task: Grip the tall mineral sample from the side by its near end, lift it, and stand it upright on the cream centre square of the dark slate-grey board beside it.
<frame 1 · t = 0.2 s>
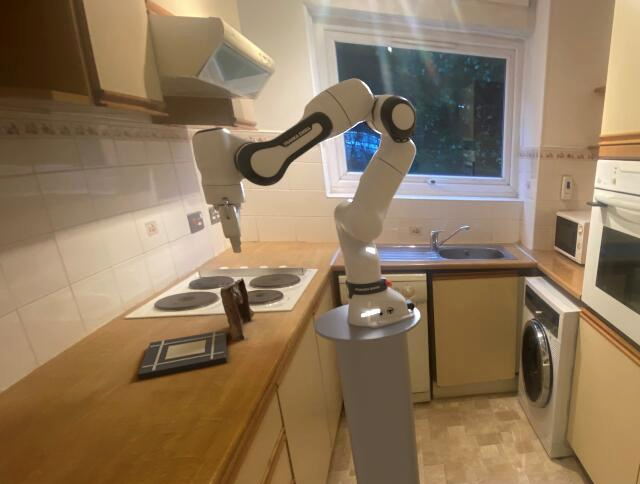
hand: (237, 248, 117), 27 cm above the countertop, tool pointing down, fingers open, 8 cm apart
board: (188, 354, 117), on the countertop
mineral sample: (243, 330, 132), on the countertop
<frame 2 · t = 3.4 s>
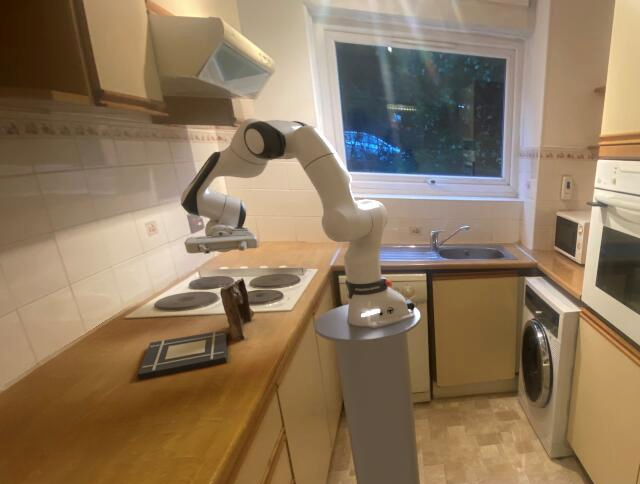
hand: (224, 249, 138), 21 cm above the countertop, tool horizontal, fingers open, 8 cm apart
nothing on the countertop moved.
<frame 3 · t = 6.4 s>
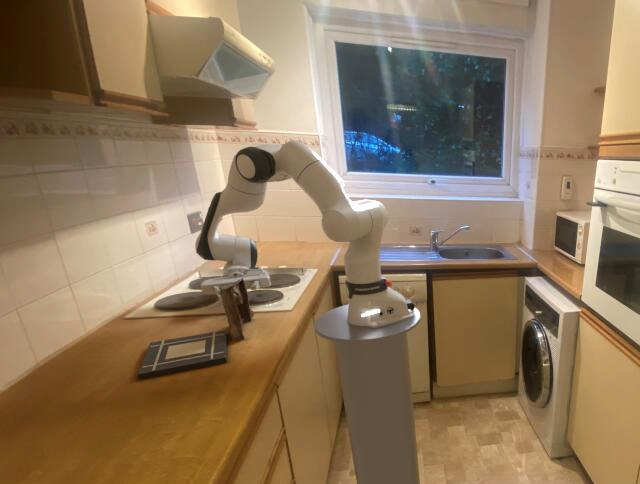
hand: (237, 290, 142), 8 cm above the countertop, tool horizontal, fingers open, 8 cm apart
nothing on the countertop moved.
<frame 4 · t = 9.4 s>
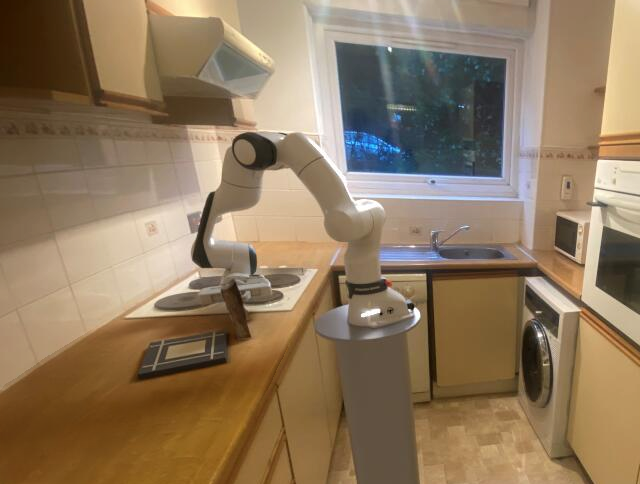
hand: (236, 299, 133), 8 cm above the countertop, tool horizontal, fingers closed on mineral sample, 3 cm apart
mineral sample: (244, 329, 132), on the countertop, touching gripper
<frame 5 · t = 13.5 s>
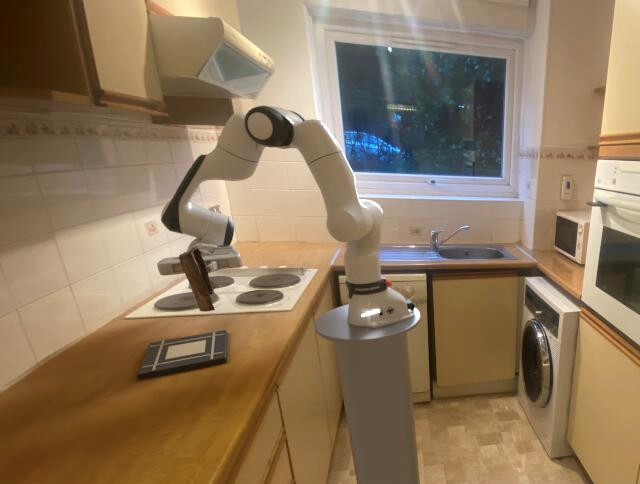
hand: (200, 270, 121), 20 cm above the countertop, tool horizontal, fingers closed on mineral sample, 3 cm apart
mineral sample: (208, 302, 120), point 12 cm above the countertop, touching gripper
when the fingers open (10 cm above the countertop, at t = 18.0 s): mineral sample stays where it is, resting on board.
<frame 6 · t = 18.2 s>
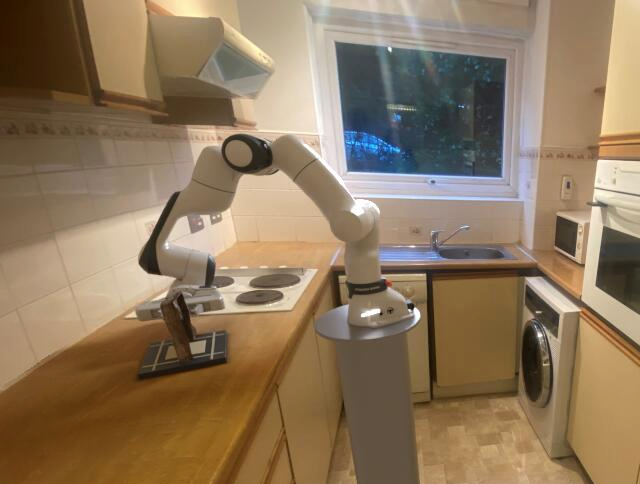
hand: (179, 315, 117), 10 cm above the countertop, tool horizontal, fingers open, 5 cm apart
mineral sample: (188, 349, 116), point 2 cm above the countertop, touching board
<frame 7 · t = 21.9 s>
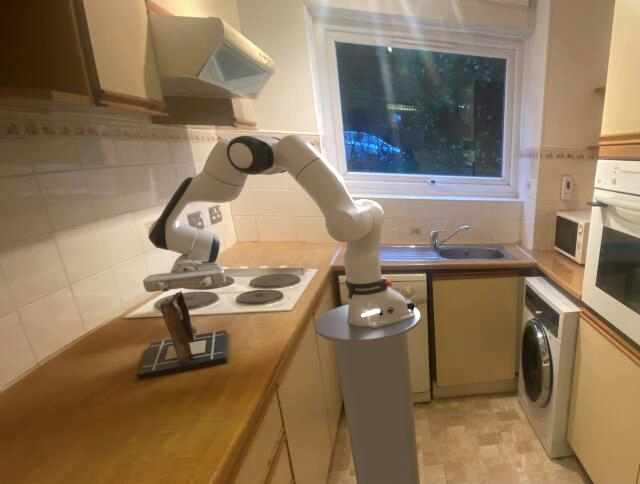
hand: (184, 286, 126), 14 cm above the countertop, tool horizontal, fingers open, 8 cm apart
nothing on the countertop moved.
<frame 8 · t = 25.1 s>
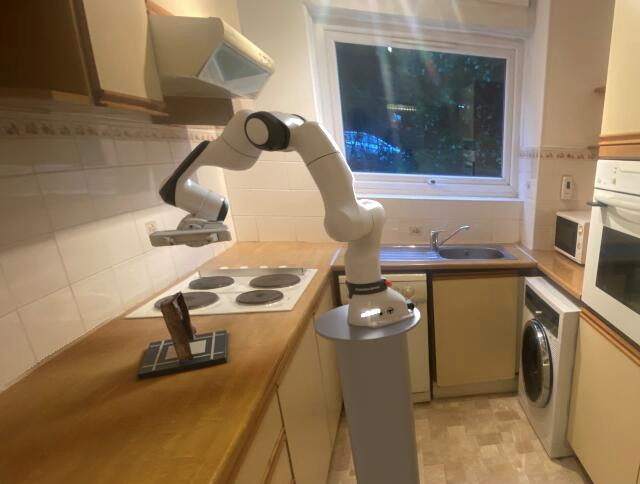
hand: (190, 241, 126), 26 cm above the countertop, tool horizontal, fingers open, 8 cm apart
nothing on the countertop moved.
at the end: mineral sample inside the target area (0.6 cm from its centre), point 1.5 cm above the countertop; mineral sample tilted 0°; mineral sample touching board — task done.
